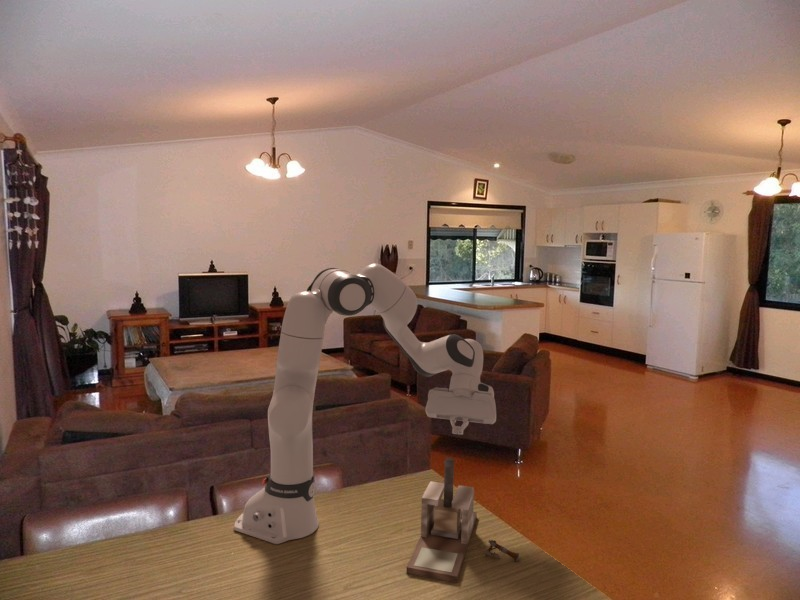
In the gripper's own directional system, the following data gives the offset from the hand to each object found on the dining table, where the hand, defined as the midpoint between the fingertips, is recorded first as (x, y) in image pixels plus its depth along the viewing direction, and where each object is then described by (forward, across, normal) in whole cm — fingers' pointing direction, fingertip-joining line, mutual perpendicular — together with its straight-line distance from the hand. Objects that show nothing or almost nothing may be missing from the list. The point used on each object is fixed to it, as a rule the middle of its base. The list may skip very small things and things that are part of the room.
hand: (457, 433), depth 156 cm
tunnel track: (+28, 0, +6) cm, 28 cm away
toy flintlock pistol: (+30, +15, +4) cm, 34 cm away
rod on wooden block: (+24, 0, +7) cm, 25 cm away
